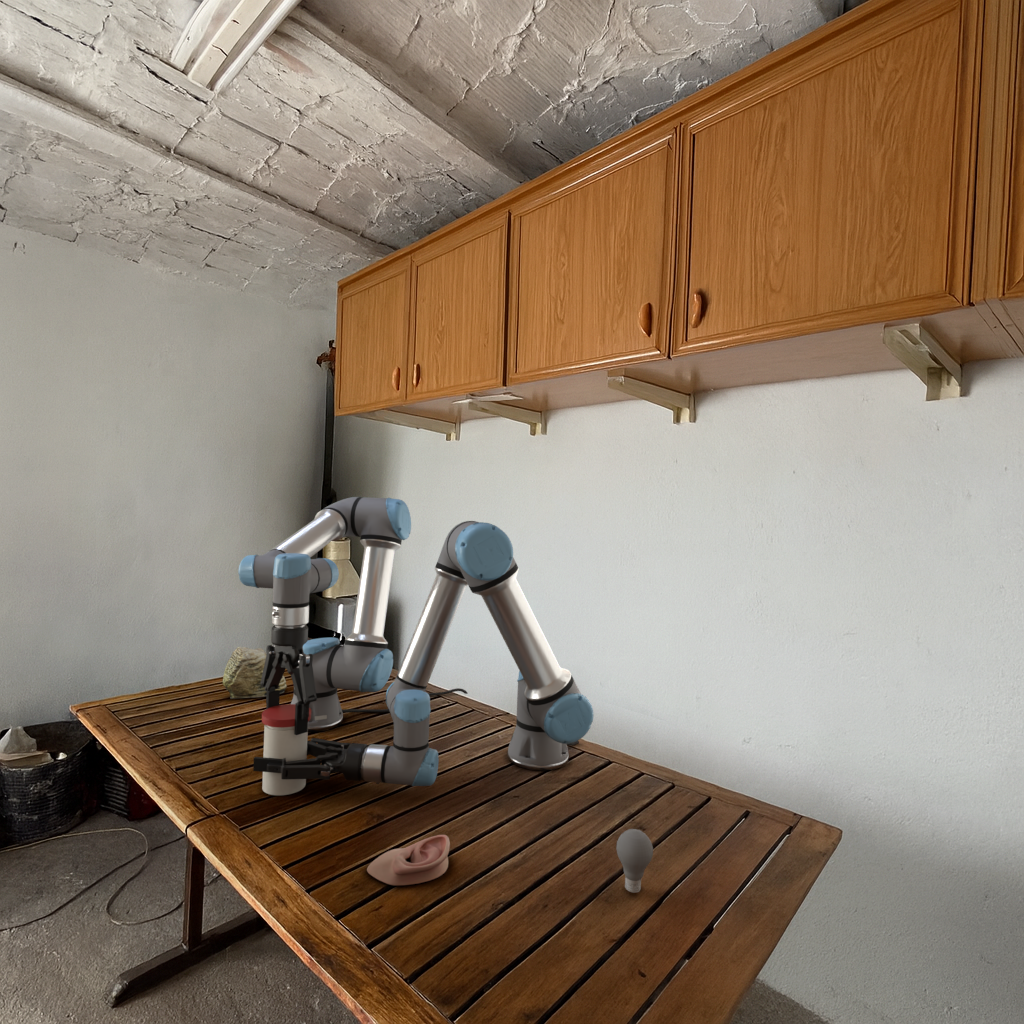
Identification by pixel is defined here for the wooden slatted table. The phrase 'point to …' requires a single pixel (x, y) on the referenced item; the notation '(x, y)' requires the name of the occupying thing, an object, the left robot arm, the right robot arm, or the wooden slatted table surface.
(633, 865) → the light bulb
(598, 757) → the wooden slatted table surface
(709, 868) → the wooden slatted table surface
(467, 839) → the wooden slatted table surface
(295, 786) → the jar
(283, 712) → the lid
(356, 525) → the left robot arm
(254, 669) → the fossil
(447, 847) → the anatomical model
